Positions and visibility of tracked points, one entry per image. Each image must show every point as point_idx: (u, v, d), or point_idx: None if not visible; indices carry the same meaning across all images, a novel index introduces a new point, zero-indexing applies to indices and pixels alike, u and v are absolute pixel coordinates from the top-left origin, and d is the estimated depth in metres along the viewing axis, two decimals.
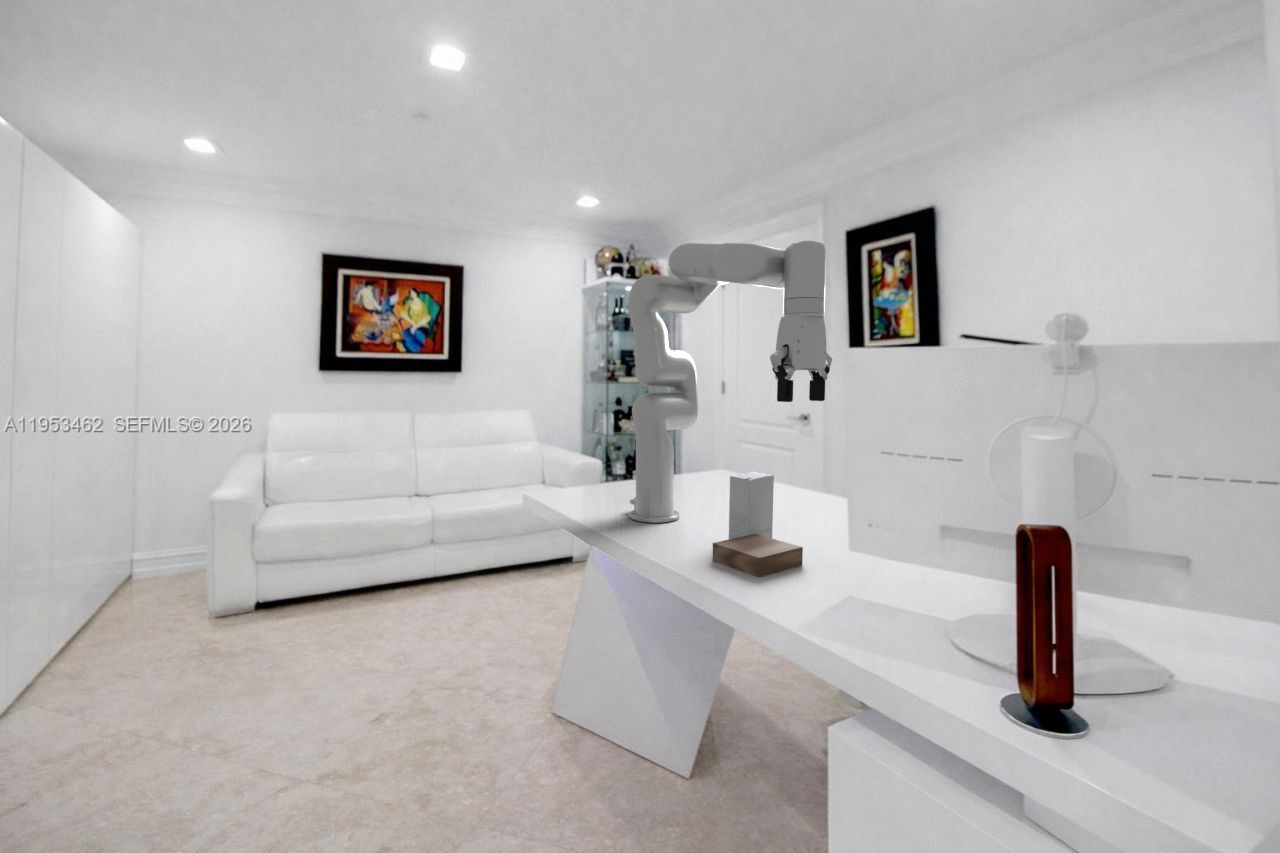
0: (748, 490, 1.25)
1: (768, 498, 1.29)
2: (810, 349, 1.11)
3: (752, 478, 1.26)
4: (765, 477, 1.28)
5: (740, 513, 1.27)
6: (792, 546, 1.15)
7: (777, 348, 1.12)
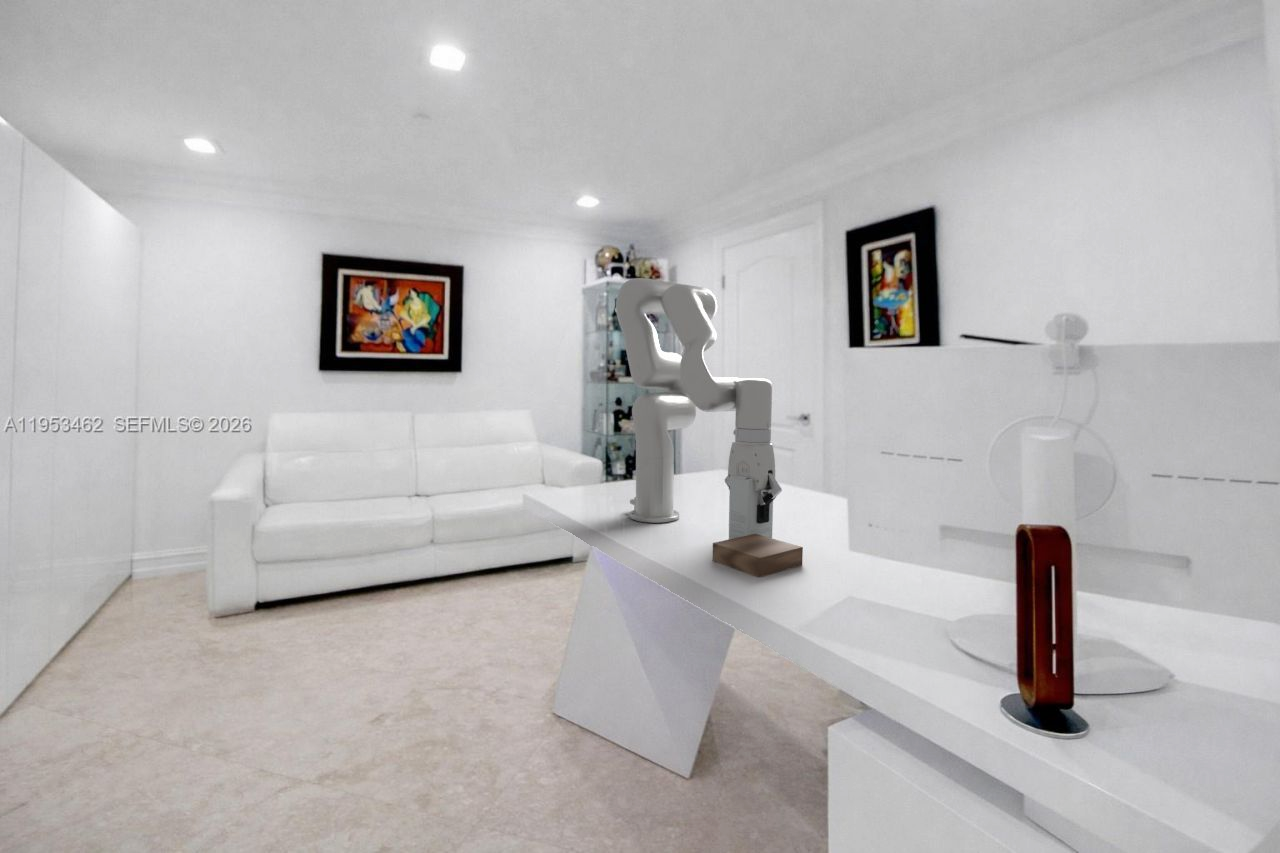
0: (748, 490, 1.25)
1: None
2: None
3: None
4: None
5: (740, 513, 1.27)
6: (792, 546, 1.15)
7: (763, 474, 1.24)
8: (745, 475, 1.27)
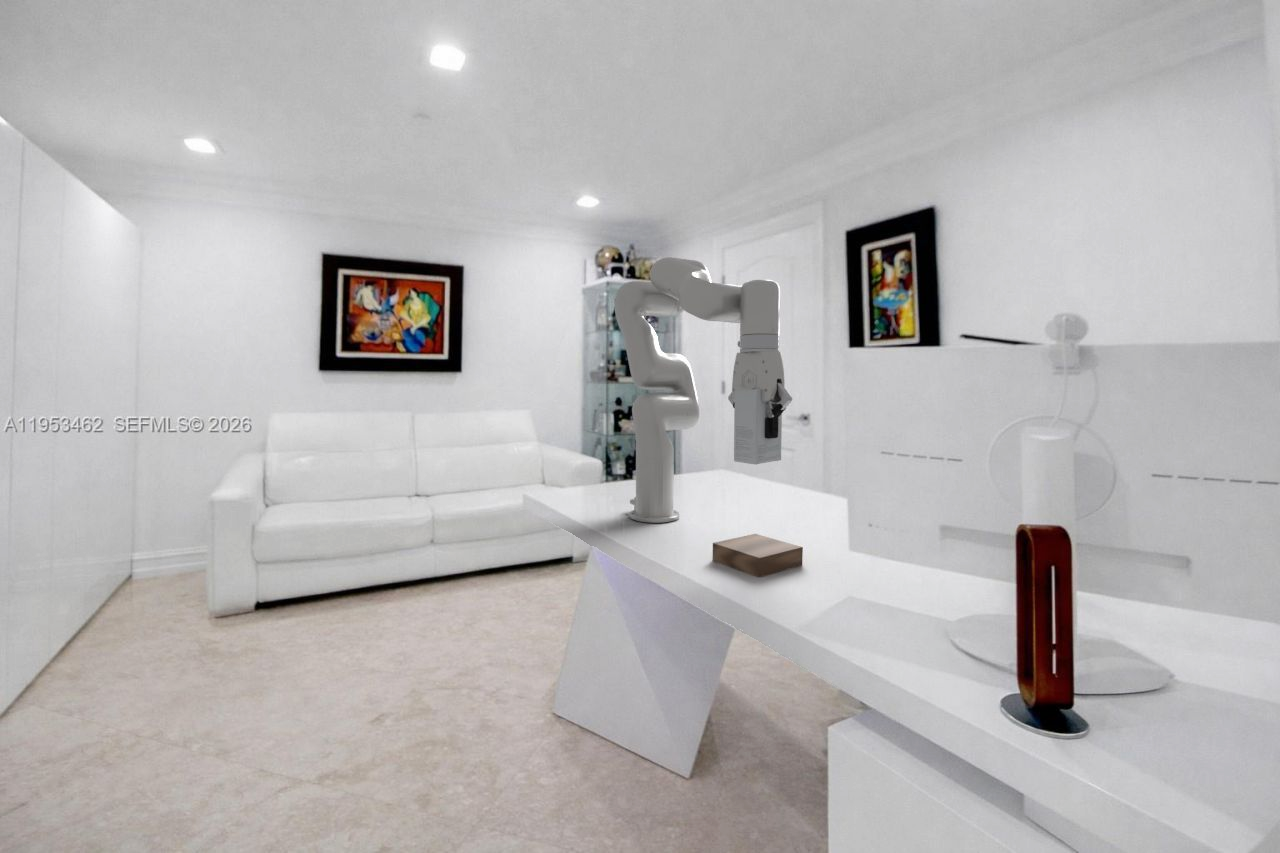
0: (755, 400, 1.14)
1: None
2: None
3: None
4: None
5: (746, 428, 1.16)
6: (792, 546, 1.15)
7: (772, 382, 1.13)
8: (752, 386, 1.16)
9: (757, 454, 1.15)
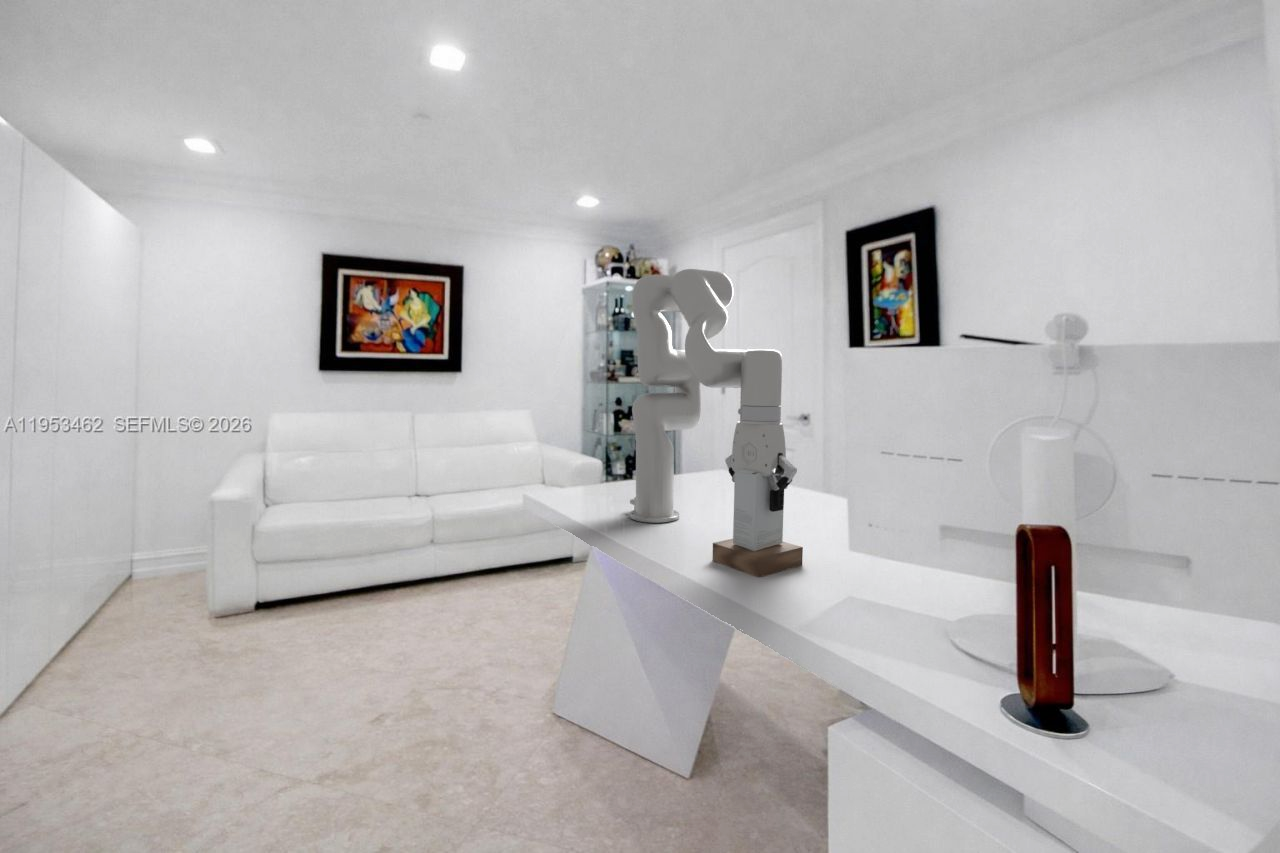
0: (755, 486, 1.10)
1: None
2: None
3: None
4: None
5: (745, 512, 1.12)
6: (792, 546, 1.15)
7: (772, 457, 1.09)
8: (752, 459, 1.12)
9: (756, 540, 1.11)
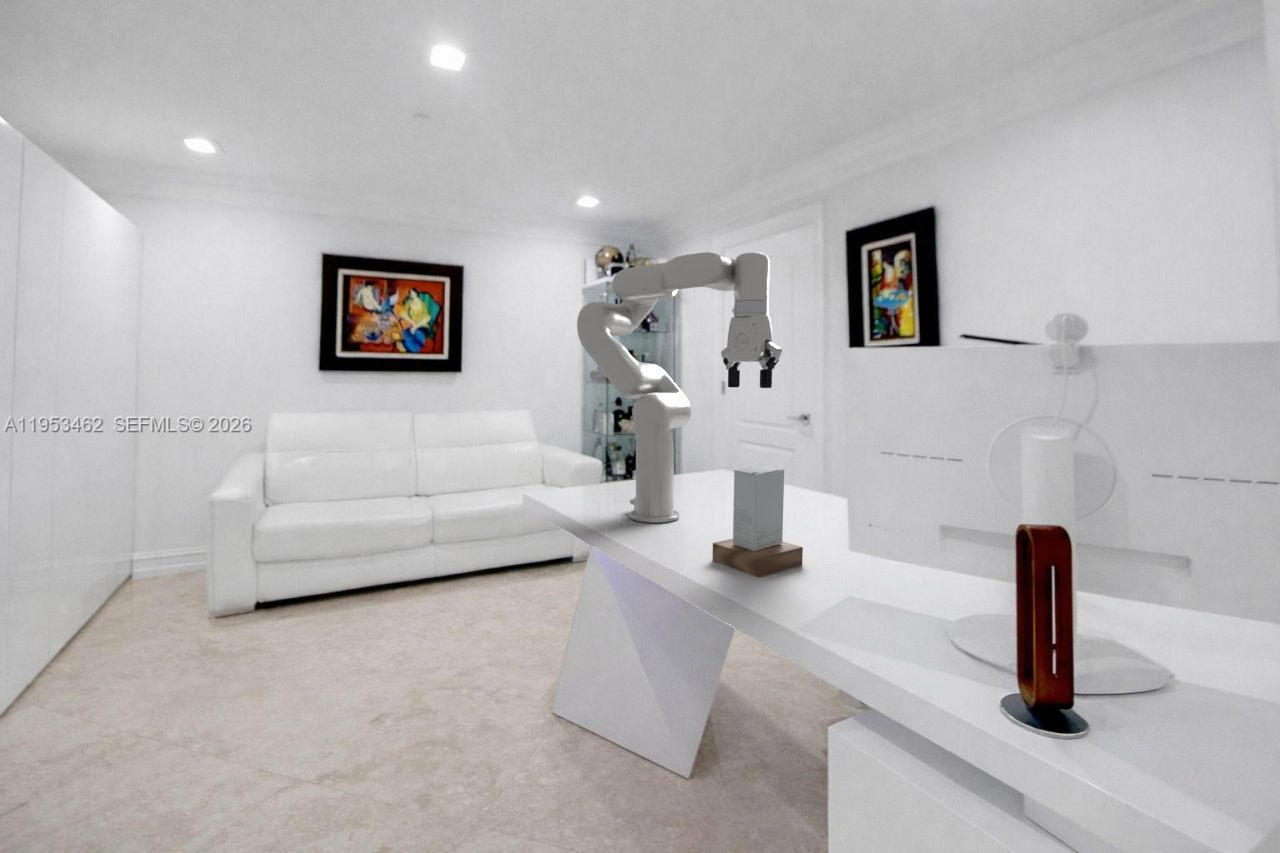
0: (755, 486, 1.10)
1: (778, 495, 1.14)
2: None
3: (759, 472, 1.11)
4: (774, 471, 1.13)
5: (745, 512, 1.12)
6: (792, 546, 1.15)
7: (761, 342, 1.30)
8: (743, 346, 1.33)
9: (755, 540, 1.11)
